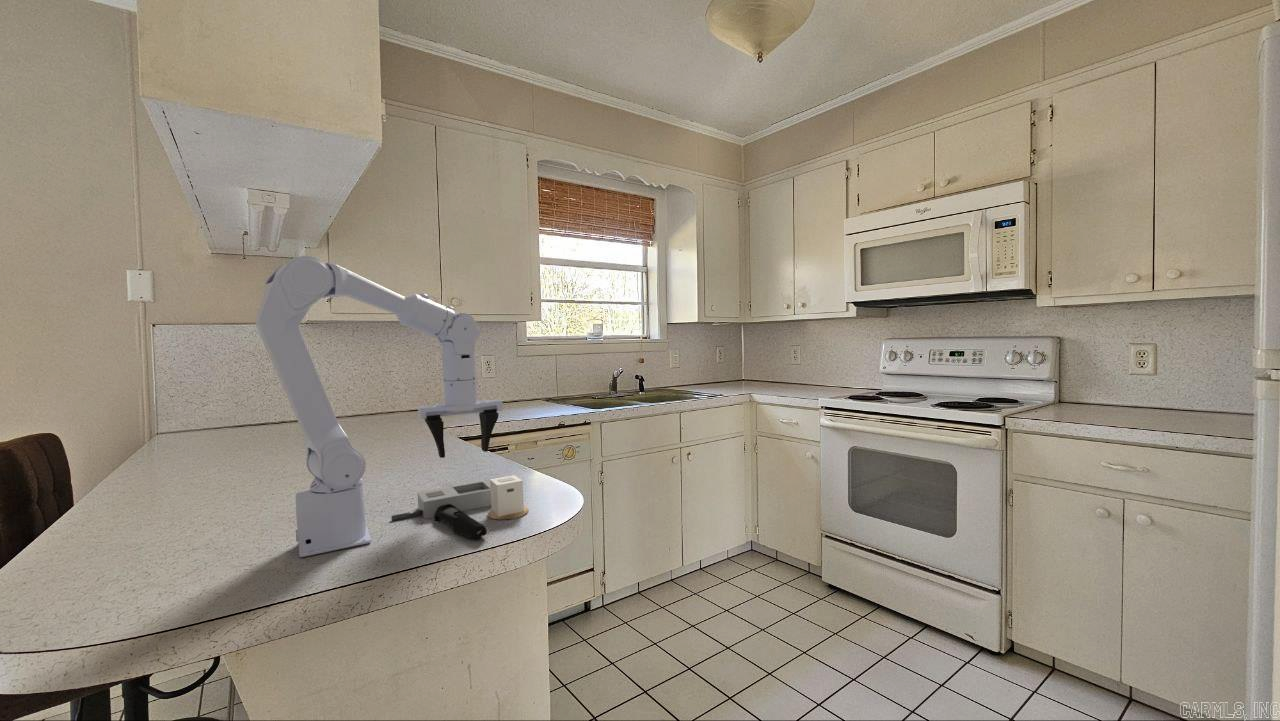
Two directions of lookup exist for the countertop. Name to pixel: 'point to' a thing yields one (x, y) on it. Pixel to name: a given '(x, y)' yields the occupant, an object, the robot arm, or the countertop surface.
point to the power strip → (451, 499)
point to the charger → (506, 495)
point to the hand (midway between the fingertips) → (463, 453)
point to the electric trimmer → (459, 521)
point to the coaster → (510, 516)
